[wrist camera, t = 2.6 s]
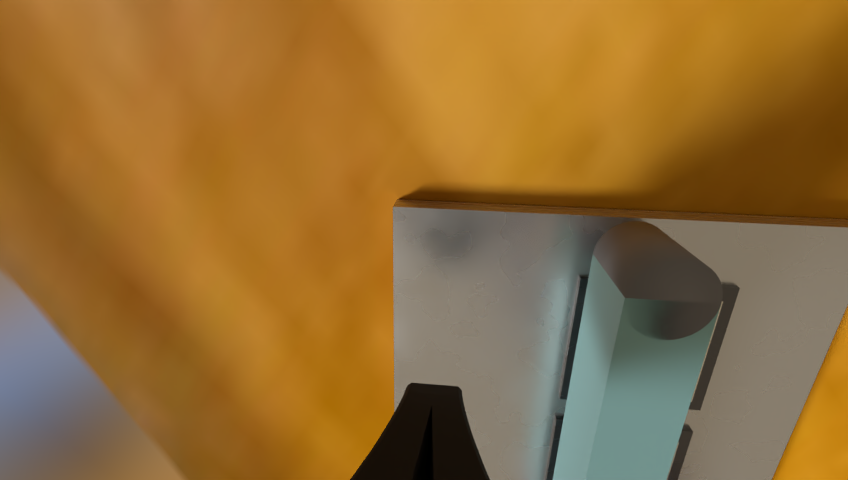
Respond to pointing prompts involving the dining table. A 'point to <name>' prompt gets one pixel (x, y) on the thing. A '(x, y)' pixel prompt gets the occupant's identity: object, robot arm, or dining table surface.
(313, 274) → the dining table surface
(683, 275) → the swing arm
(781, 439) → the panel
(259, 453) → the dining table surface
